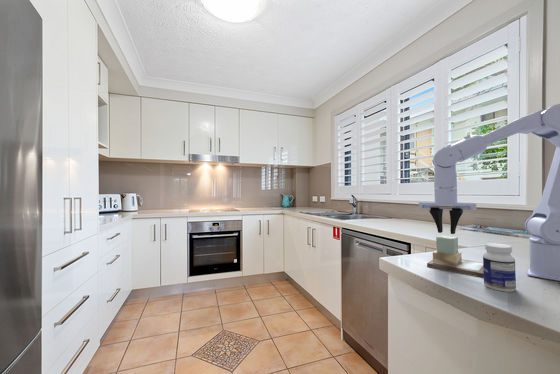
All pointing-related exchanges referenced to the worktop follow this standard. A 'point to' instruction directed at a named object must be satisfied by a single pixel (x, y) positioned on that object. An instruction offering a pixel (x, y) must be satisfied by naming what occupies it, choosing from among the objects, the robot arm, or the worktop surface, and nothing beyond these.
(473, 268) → the board
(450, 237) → the sage block
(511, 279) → the pill bottle
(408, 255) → the worktop surface
